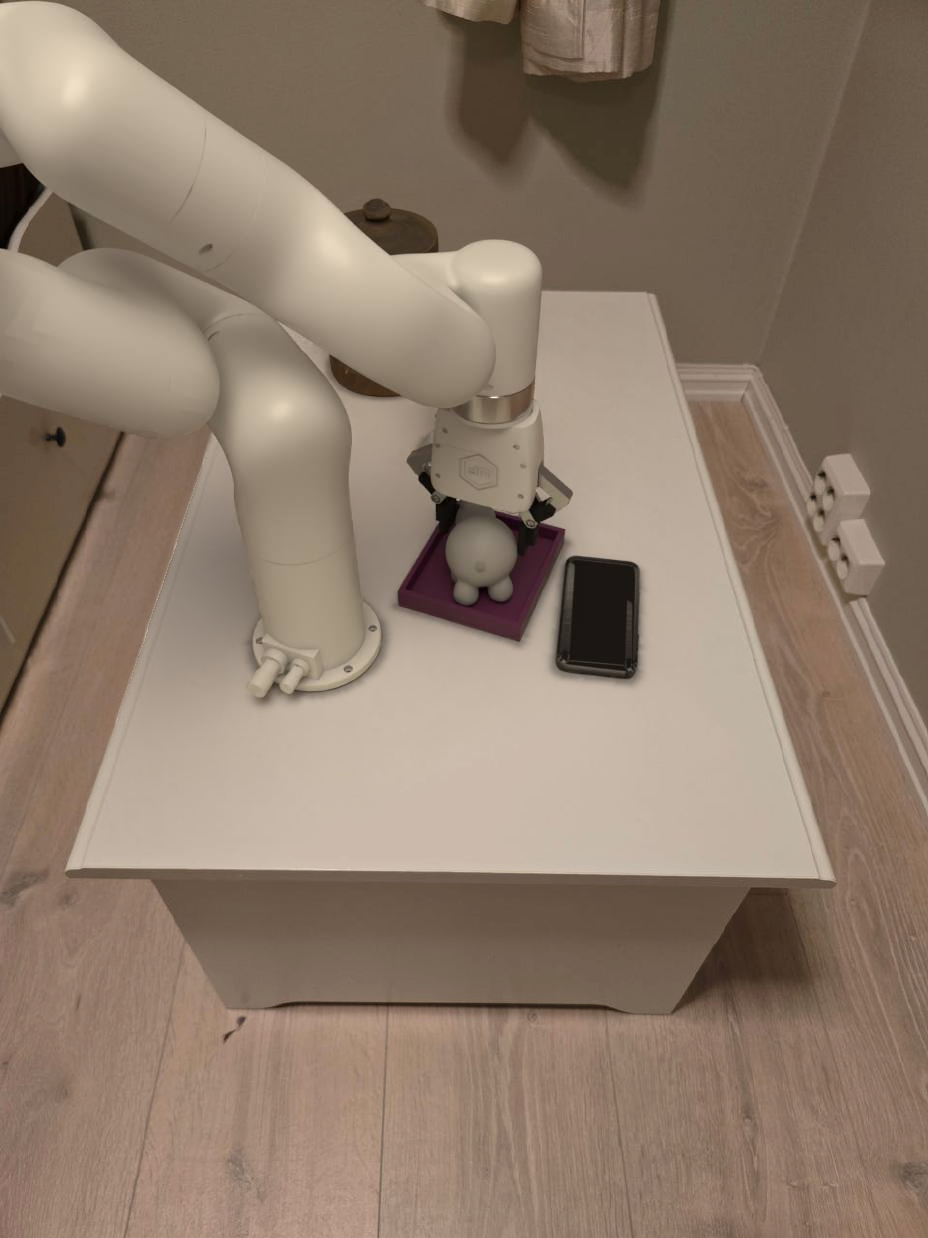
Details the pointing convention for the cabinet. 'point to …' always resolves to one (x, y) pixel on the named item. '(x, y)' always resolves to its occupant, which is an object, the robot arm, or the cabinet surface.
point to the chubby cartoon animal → (480, 554)
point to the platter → (434, 587)
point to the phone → (599, 617)
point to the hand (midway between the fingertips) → (486, 535)
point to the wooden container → (395, 237)
